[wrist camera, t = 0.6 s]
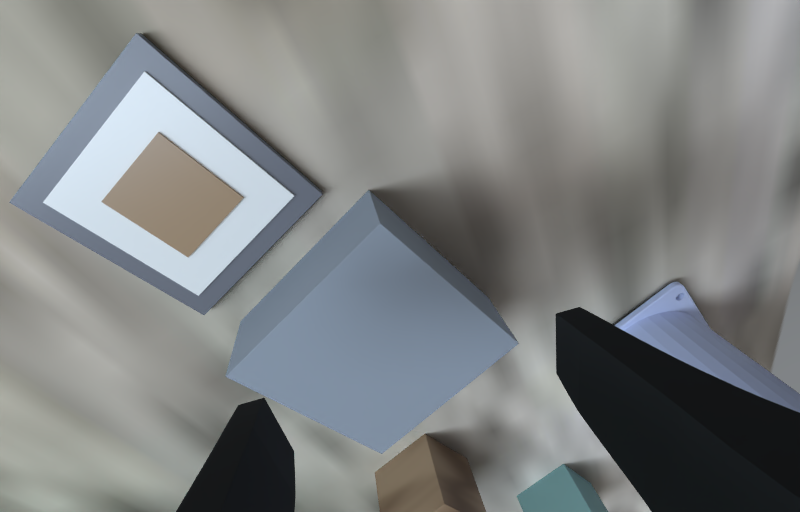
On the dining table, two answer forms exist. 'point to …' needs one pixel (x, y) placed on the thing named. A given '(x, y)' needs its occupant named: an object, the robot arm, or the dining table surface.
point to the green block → (561, 494)
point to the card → (166, 181)
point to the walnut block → (428, 481)
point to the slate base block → (369, 330)
